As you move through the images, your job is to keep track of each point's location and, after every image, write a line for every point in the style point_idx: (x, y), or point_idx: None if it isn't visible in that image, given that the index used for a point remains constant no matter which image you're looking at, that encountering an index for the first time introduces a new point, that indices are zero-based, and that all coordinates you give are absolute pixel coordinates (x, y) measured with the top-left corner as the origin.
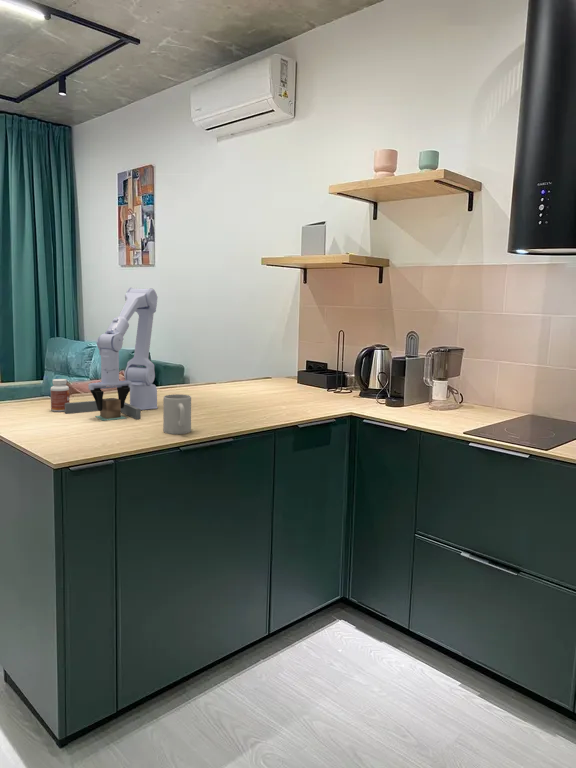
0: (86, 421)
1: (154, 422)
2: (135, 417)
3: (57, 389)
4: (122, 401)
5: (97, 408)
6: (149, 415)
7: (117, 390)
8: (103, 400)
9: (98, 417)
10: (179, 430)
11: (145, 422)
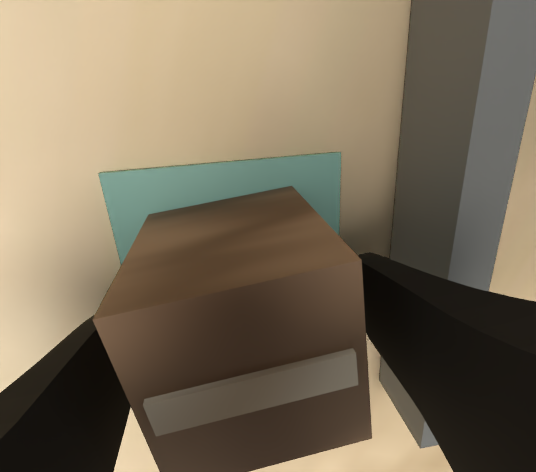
0: (4, 349)
1: (426, 464)
2: (385, 375)
3: None
4: (398, 378)
5: (82, 327)
6: (520, 283)
7: (525, 358)
8: (139, 418)
9: (123, 258)
10: None
11: (385, 456)
